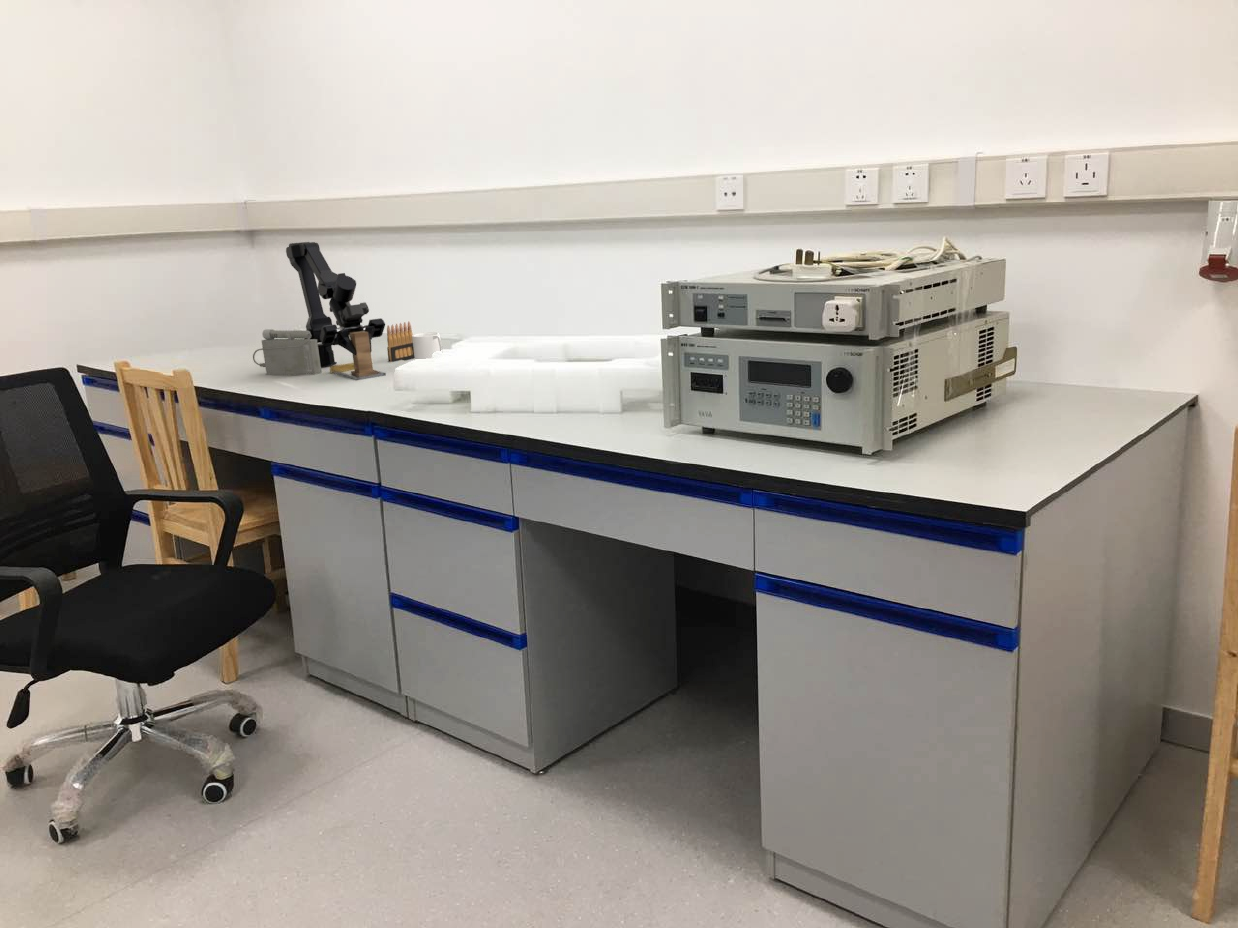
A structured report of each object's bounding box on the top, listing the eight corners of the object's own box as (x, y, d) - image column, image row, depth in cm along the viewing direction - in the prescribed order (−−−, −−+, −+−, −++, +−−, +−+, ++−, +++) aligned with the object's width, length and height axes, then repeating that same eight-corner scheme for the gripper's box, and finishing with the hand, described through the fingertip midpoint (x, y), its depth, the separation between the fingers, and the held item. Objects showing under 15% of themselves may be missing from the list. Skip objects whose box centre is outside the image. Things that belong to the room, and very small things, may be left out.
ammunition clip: (392, 363, 319) (387, 325, 316) (388, 363, 320) (383, 325, 317) (417, 357, 327) (412, 321, 324) (413, 357, 328) (408, 320, 325)
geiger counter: (318, 328, 304) (256, 328, 315) (304, 331, 299) (241, 331, 309) (325, 373, 308) (263, 372, 318) (310, 377, 302) (248, 375, 313)
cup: (432, 371, 299) (428, 338, 296) (410, 368, 308) (406, 335, 305) (455, 367, 304) (451, 334, 302) (433, 364, 313) (429, 331, 310)
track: (330, 373, 306) (329, 366, 306) (358, 369, 312) (357, 361, 311) (357, 381, 290) (355, 373, 289) (386, 377, 295) (385, 368, 294)
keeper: (351, 376, 297) (345, 333, 294) (369, 373, 300) (363, 330, 297) (359, 378, 292) (353, 334, 289) (377, 375, 296) (372, 332, 292)
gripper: (317, 298, 288) (337, 339, 282) (378, 291, 298) (398, 330, 293) (311, 323, 296) (330, 364, 291) (371, 316, 307) (390, 355, 301)
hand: (363, 353), depth 293 cm, fingers closed on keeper, 4 cm apart
